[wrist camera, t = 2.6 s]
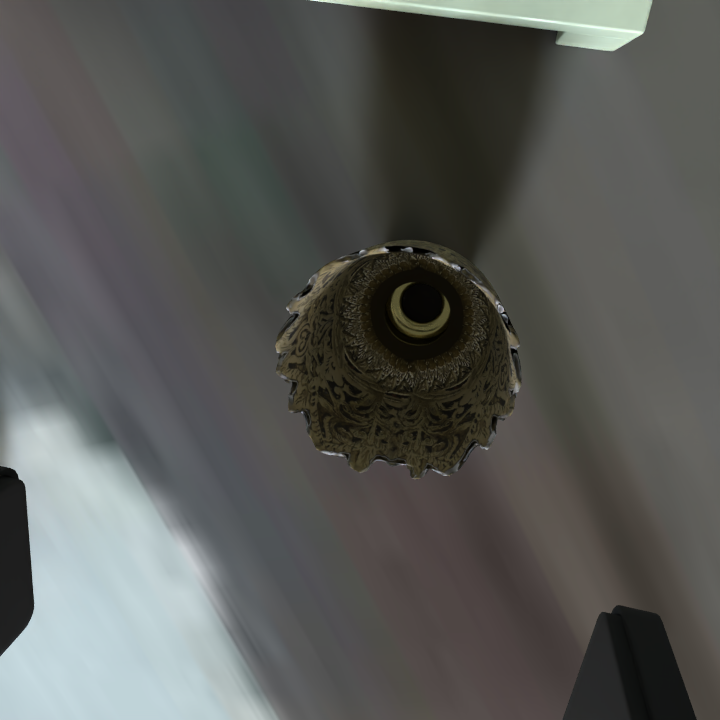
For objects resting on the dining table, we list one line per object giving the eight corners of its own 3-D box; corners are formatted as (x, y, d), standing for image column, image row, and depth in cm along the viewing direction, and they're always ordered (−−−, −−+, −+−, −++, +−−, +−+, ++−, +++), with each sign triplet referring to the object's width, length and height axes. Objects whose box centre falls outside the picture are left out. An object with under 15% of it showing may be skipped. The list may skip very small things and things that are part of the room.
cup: (325, 369, 28) (265, 456, 21) (342, 199, 26) (280, 231, 18) (495, 400, 27) (495, 503, 20) (532, 226, 25) (547, 272, 17)
